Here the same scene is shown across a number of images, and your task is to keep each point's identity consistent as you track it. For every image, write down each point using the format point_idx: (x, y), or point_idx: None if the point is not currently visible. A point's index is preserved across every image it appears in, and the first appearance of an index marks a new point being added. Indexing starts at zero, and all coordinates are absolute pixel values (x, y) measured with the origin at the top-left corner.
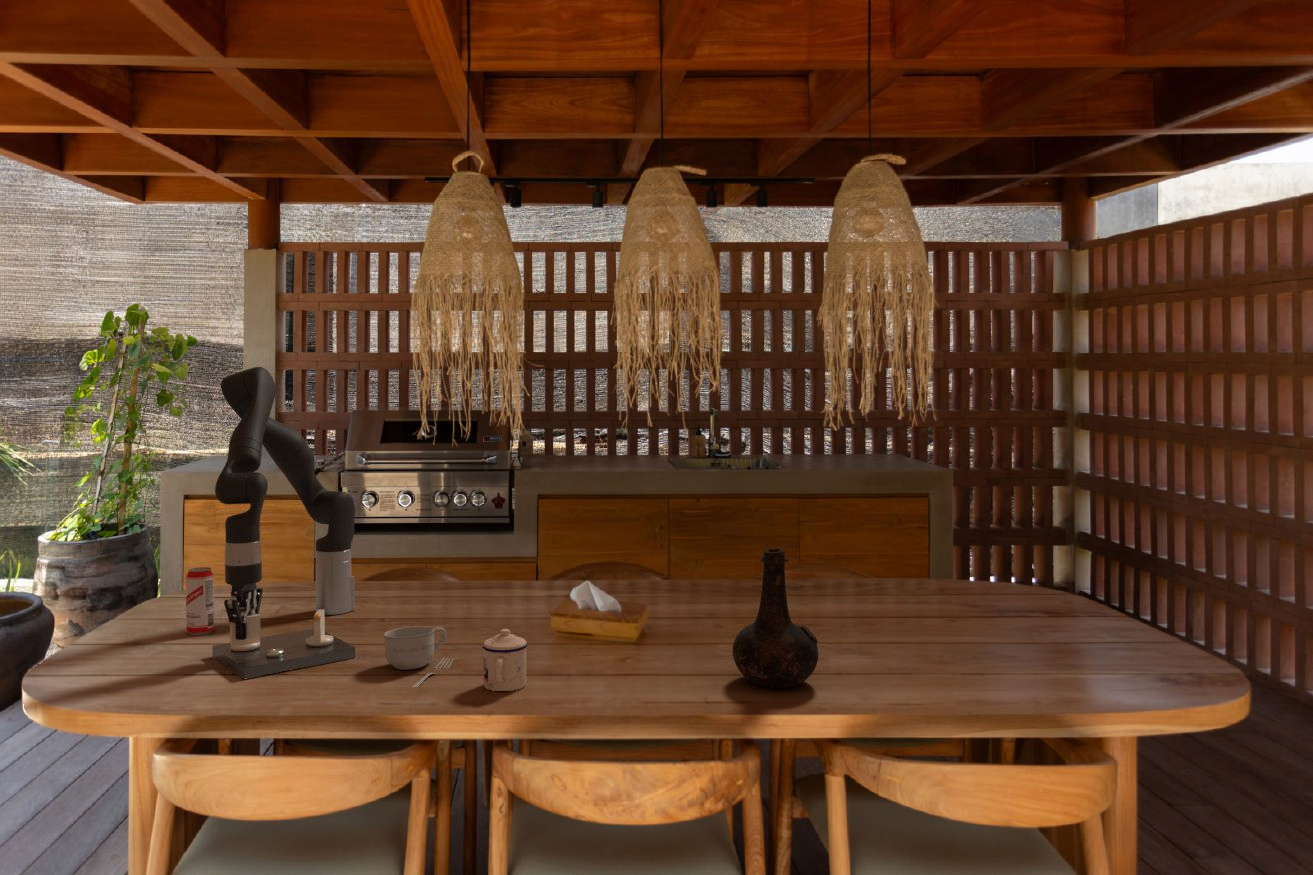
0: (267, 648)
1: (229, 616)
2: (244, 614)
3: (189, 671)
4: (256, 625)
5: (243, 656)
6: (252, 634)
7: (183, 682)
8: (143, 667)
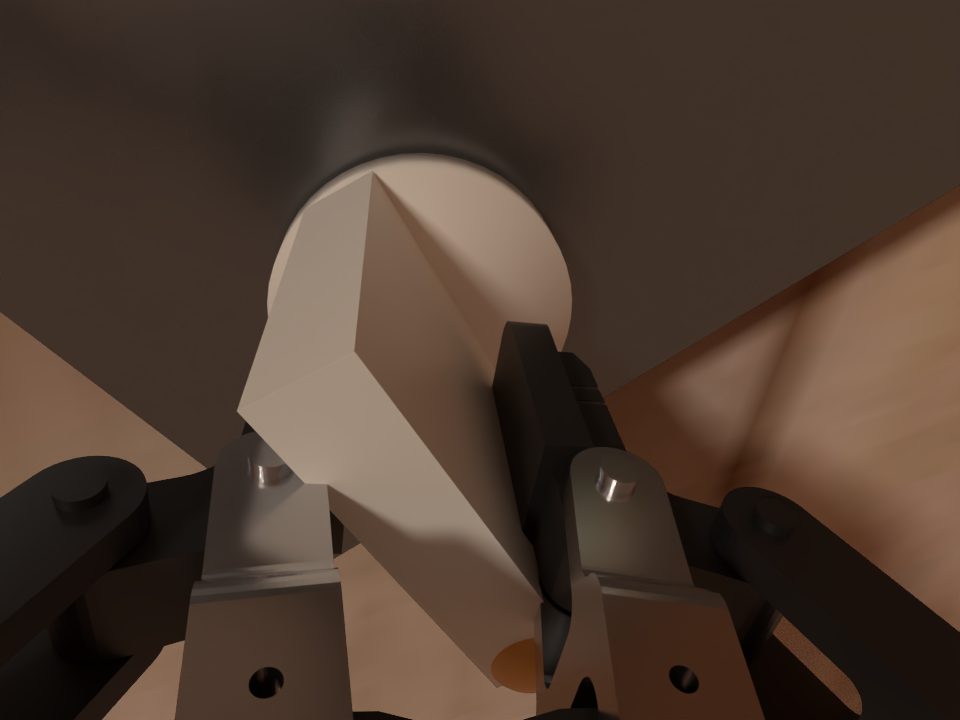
0: (445, 39)
1: (829, 694)
2: (680, 571)
3: (671, 493)
4: (393, 309)
5: (732, 208)
6: (421, 294)
7: (906, 439)
8: (535, 696)
